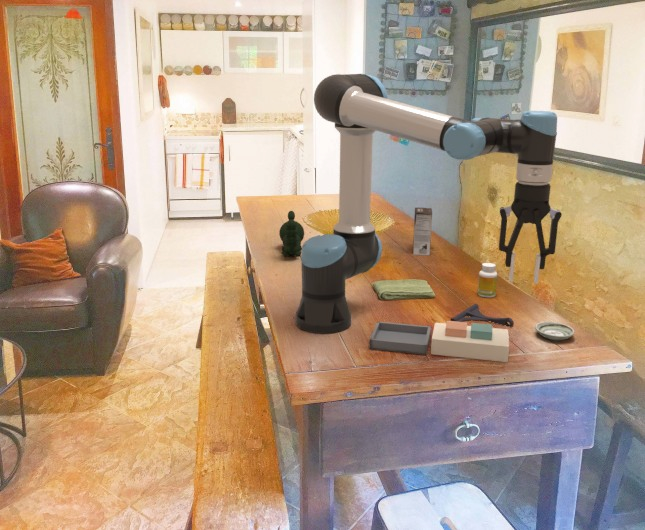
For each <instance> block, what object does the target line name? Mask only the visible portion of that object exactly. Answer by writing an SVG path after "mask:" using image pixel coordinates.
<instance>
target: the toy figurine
mask: <svg viewBox="0 0 645 530" xmlns="http://www.w3.org/2000/svg"><path fill="white" fill-rule="evenodd" d="M287 213H288V214H287V219H288V220H287V221H286V222H284V223H283V224H282V225H281V226H280V228H279V231H278V232H279V238H280V241H282V247H281V249H282V250H281V251H282V256H284V257H285V258H288V257H289V256H294V257H297V258H298V257H301V255H302V245H301V244H302V241H303V239H304V238H305V230H304V227H303V225H302V224H301V223H300V222H298V221H296V220H295V217H296V215H295V214H296V213H295V212H294V211H293V210H290V211H288V212H287Z"/></svg>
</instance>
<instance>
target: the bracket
mask: <svg viewBox="0 0 645 530" xmlns="http://www.w3.org/2000/svg"><path fill="white" fill-rule="evenodd" d="M469 316H470V317H469ZM471 320H473V321H477V320H478V322H479V320H480V322H488V321H491V322H490V323H492V322H494V323H493V324H496V323H498V324H497V325H500V324H502V325H501V326H504V325H506V326H505V327H508V326H507V325H508V324H509V326H510V327H509V328H512V327H513V326H514V320H513V319H512V318H511V317H493V316H492V317H490V316H486V315H484V314H483V313H481V311H480V307H479V304H477V303H473V304H471V306H469V307H468V308H466V309H464V310H463V311H461V312H460V313H458V314H457V315H455V316H454V317H452V318H451V319H450V320H449V321H458V322H469V321H471ZM473 321H471V322H473Z"/></svg>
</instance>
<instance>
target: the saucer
mask: <svg viewBox="0 0 645 530" xmlns="http://www.w3.org/2000/svg"><path fill="white" fill-rule="evenodd" d="M534 329H535V331H536V332H537V333H538V334H539V335H540V336H542V337H544V338H545V339H547V340H550V341H563V340H567V339H569V338H571V337H573V336H575V329H574V328H573V327H572V326H569V325H568V324H564V323H561V322H556V321H541V322H538V323H536V324H535V325H534Z"/></svg>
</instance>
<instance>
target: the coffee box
mask: <svg viewBox="0 0 645 530" xmlns="http://www.w3.org/2000/svg"><path fill="white" fill-rule="evenodd" d="M413 215H414V218H413V237H412V238H413V241H412V242H413V244H412V246H413V247H412V249H413V250H412V251H413V252H412V253H413V255H414V256H415V255H417V256H431V244H432V241H431V239H432V224H433V211H432V207H414V214H413Z"/></svg>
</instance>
